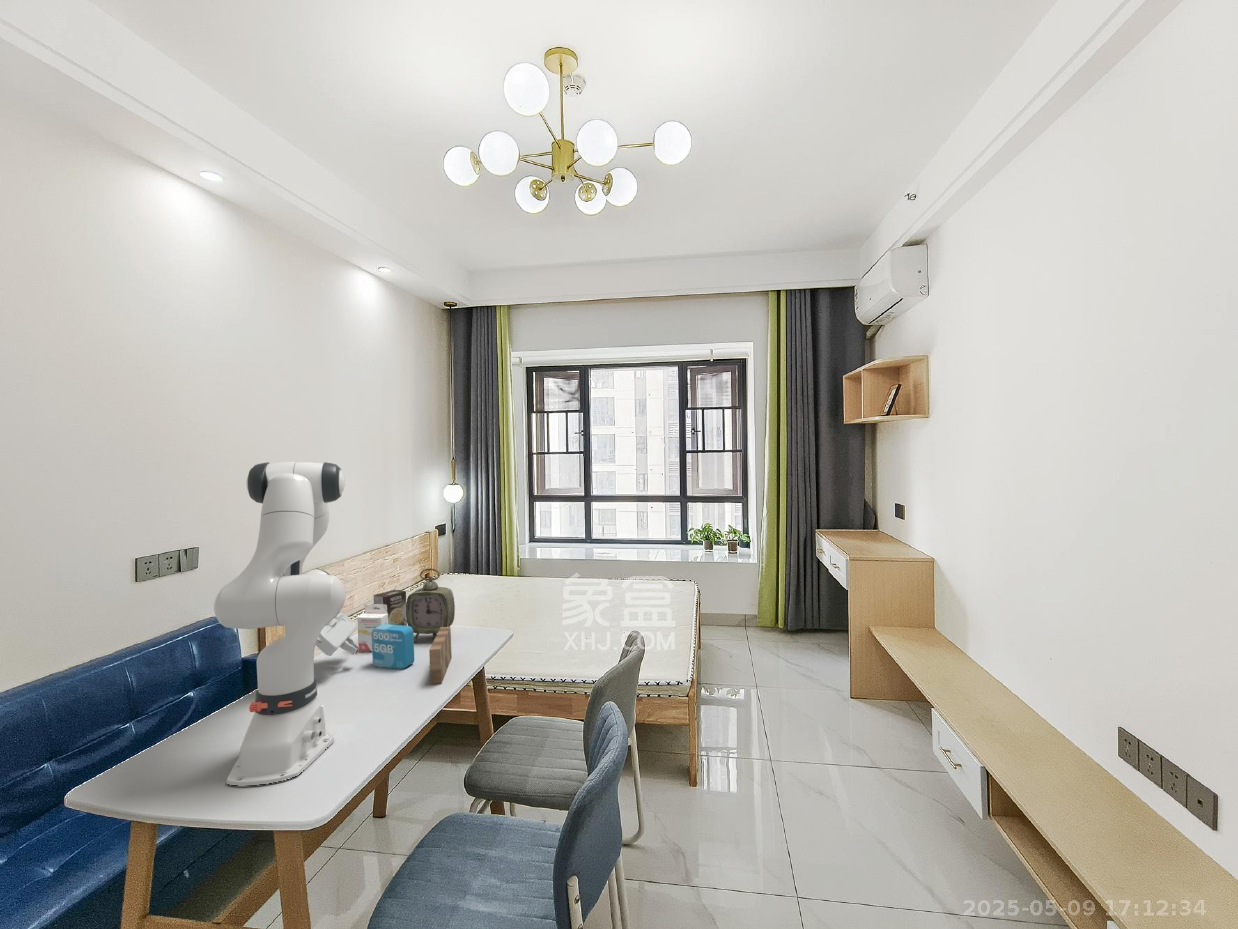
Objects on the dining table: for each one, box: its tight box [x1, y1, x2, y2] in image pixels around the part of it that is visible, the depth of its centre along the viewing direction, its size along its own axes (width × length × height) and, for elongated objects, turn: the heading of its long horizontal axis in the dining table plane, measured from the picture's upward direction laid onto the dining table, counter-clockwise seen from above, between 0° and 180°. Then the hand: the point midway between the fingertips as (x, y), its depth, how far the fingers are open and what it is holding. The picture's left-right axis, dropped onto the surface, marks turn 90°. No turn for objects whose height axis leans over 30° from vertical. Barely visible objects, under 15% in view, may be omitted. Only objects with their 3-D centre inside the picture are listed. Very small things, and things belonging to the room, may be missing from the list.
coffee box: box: [372, 589, 408, 626], centre depth 204 cm, size 9×6×16 cm
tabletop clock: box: [406, 567, 456, 643], centre depth 201 cm, size 14×9×25 cm, turn 88°
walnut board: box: [429, 626, 453, 685], centre depth 173 cm, size 20×3×10 cm, turn 8°
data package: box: [371, 624, 415, 670], centre depth 178 cm, size 12×4×12 cm, turn 74°
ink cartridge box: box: [357, 603, 388, 652], centre depth 193 cm, size 9×5×15 cm, turn 84°
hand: (356, 651), depth 177 cm, fingers closed
